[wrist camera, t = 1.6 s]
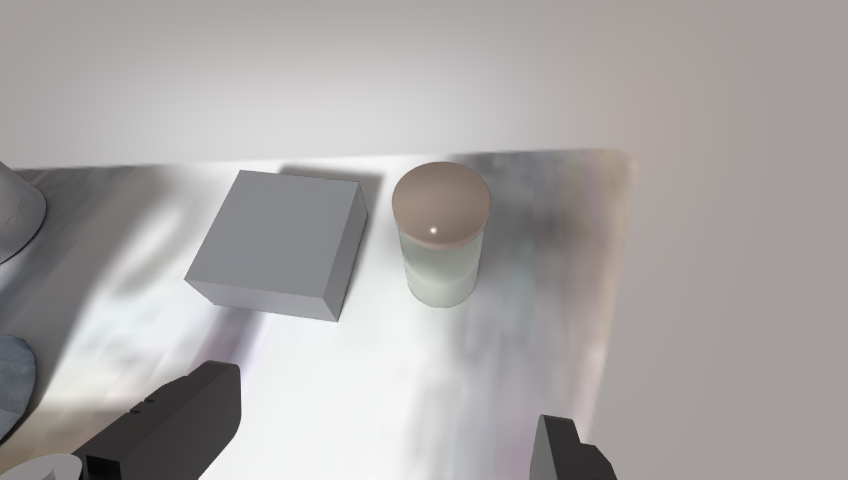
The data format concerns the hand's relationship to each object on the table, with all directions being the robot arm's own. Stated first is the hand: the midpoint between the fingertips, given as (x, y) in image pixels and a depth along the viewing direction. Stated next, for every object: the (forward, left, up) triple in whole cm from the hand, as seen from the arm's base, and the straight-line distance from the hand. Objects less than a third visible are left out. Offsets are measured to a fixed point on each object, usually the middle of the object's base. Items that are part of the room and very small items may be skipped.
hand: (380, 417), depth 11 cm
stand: (-11, +12, -15) cm, 22 cm away
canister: (0, +12, -15) cm, 19 cm away
